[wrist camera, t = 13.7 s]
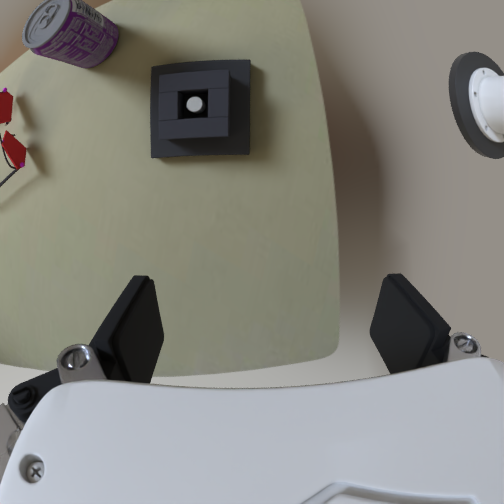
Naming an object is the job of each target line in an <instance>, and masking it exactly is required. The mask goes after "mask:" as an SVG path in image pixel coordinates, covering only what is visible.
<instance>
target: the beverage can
mask: <svg viewBox="0 0 504 504" xmlns="http://www.w3.org/2000/svg"><path fill="white" fill-rule="evenodd" d="M22 41H23V43H24V45H25V46H26V47H28V48H30V49H31V51H32V52H33V53H35V54H37V55H40V56H44V57H48V58H51V59H55V60H58V61H62V62H65V63H68V64H72V65H75V66H78V67H81V68H90V67H94V66H96V65H98V64H100V63H101V62H103V61H104V60H105V59H106V58H107V57H108V56H109V55H110V54H111V53H112V51H113V50H114V48H115V46H116V44H117V41H118V28H117V26H116V25H115V24H114V23H113V22H112V21H110V20H109V19H108V18H106V17H105V16H103V15H102V14H101V13H99V12H98V11H96V10H95V9H94V8H92V7H91V6H89V5H88V4H86V3H85V2H83V1H82V0H44V1H43V2H42V3H41V4H40V5H39V6H38V7H37V8H36V9H35V10H34V11H33V12H32V14H31V15H30V17H29V18H28V20H27V22H26V24H25V26H24V29H23V34H22Z"/></svg>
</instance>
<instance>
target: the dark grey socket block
mask: <svg viewBox="0 0 504 504" xmlns="http://www.w3.org/2000/svg"><path fill="white" fill-rule="evenodd" d="M230 81H231V76H230V72H229V70H211V71H195V72H183V73H174V74H165V75H160V76H159V140H171V139H186V138H206V137H230ZM192 94H208V118H191V119H184V95H192Z"/></svg>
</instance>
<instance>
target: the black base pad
mask: <svg viewBox="0 0 504 504" xmlns="http://www.w3.org/2000/svg"><path fill="white" fill-rule="evenodd" d="M211 70H229V72H230V76H231V81H230V137H206V138H186V139H171V140H159V76H160V75H165V74H174V73H183V72H195V71H211ZM191 118H208V94H192V95H184V119H191ZM150 128H151V158H161V157H176V156H196V155H249V139H250V60H212V61H196V62H185V63H175V64H167V65H160V66H153V67H152V70H151V103H150Z"/></svg>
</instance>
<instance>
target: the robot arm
mask: <svg viewBox="0 0 504 504" xmlns="http://www.w3.org/2000/svg"><path fill="white" fill-rule="evenodd" d="M469 100H470V106H471V110H472V113H473V116H474V119H475V121H476V123H477V125H478V127H479V129H480V130H481V132H482V133H483V134H484V135H485V136H486V137H487V138H488V139H490V140H491V141H494V142H504V76H499V75H498V74H497V73H495V72H494V71H493V70H491V69H489V68H479V69H476V70H475V71H474V72H473V74H472V75H471V78H470V81H469ZM450 330H451V327H450V326H449V325H448V324H447V323H446V321H445V320H443V318H442V317H441V316H440V315H439V313H438V312H437V311H436V310H435V309H434V308H433V307H432V306H431V305H430V303H429V302H428V301H427V300H426V299H425V298H424V297H423V296H422V295H421V294H420V293H419V292H418V290H417V289H416V288H415V287H414V286H413V285H412V284H411V283H410V282H409V281H408V280H407V279H406V278H405V277H404V276H403V275H402V274H388V275H387V277H385V278H384V279H383V282H382V286H381V290H380V294H379V298H378V302H377V306H376V310H375V313H374V317H373V320H372V323H371V327H370V336H371V338H372V340H373V342H374V344H375V346H376V347H377V349H378V351H379V353H380V355H381V357H382V358H383V361H384V362H385V364H386V366H387V368H388V370H389V372H390V374H389V375H384V376H378V377H371V378H365V379H358V380H352V381H344V382H336V383H328V384H327V383H326V384H317V385H305V386H291V387H273V388H272V387H271V388H202V387H185V386H171V385H159V384H150V382H151V378H152V375H153V372H154V369H155V366H156V363H157V360H158V356H159V353H160V350H161V347H162V344H163V341H164V332H163V327H162V322H161V317H160V312H159V307H158V302H157V296H156V291H155V285H154V281H153V280H152V279H150V278H149V277H148V276H137V275H134V276H133V278H132V279H131V280H130V282H129V283H128V285H127V286H126V288H125V289H124V291H123V292H122V294H121V295H120V297H119V298H118V300H117V301H116V303H115V304H114V306H113V307H112V309H111V310H110V312H109V313H108V315H107V316H106V318H105V320H104V321H103V323H102V324H101V326H100V327H99V329H98V331H97V332H96V334H95V336H94V337H93V339H92V340H91V342H90V344H89V345H85V344H75V345H71V346H69V347H67V348H65V349H64V350H63V351H61V353H60V354H59V355H58V358H57V367H58V368H56V369H54V370H52V371H49V372H47V373H45V374H42V375H40V376H37V377H35V378H33V379H30V380H28V381H25V382H23V383H20V384H19V385H17V386H15V387H14V388H13V389H12V391H11V393H10V394H9V397H8V404H7V405H6V406H5V405H4V403H2V404H1V405H0V504H504V363H503V362H501V361H499V360H497V359H493V358H489V357H487V356H484V355H481V347H480V344H479V342H478V341H477V340H476V339H475V338H474V337H473V336H471V335H469V334H467V333H462V332H457V333H454V334H453V335H452V336H451V337H450V336H449V335H448V334H449V332H450Z"/></svg>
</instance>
